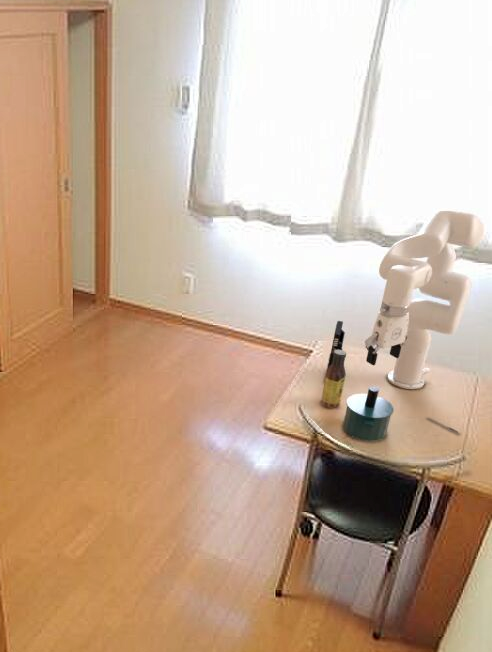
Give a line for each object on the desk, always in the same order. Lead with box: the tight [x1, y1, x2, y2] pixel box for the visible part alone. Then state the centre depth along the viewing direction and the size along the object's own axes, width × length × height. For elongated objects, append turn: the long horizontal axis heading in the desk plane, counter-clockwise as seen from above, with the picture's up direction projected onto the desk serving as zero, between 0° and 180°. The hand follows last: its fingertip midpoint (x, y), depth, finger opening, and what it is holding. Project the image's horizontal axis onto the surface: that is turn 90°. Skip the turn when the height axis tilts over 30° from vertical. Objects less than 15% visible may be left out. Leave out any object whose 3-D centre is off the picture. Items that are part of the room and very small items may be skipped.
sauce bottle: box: [321, 349, 347, 409], centre depth 218 cm, size 7×6×20 cm
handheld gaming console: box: [325, 320, 346, 376], centre depth 234 cm, size 12×5×20 cm, turn 160°
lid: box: [346, 386, 394, 419], centre depth 204 cm, size 14×14×7 cm
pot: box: [342, 405, 392, 442], centre depth 208 cm, size 13×19×9 cm
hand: (382, 359), depth 198 cm, fingers open, 9 cm apart
